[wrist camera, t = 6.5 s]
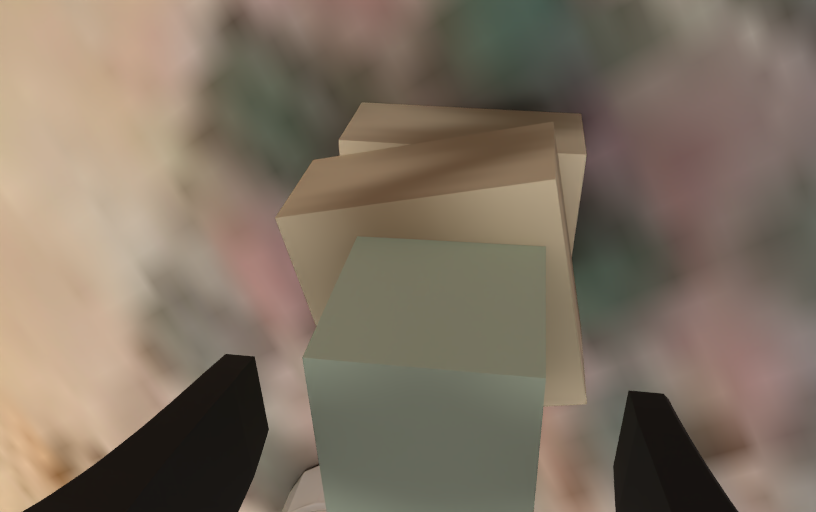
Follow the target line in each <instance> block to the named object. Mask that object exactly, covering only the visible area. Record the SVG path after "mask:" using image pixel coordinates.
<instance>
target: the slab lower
mask: <svg viewBox="0 0 816 512" xmlns="http://www.w3.org/2000/svg"><path fill="white" fill-rule="evenodd" d="M547 122H553V123H554V130H555V138H556V145H557V153H558V160H559V167H560V175H561V182H562V190H563V197H564V205H565V212H566V220H567V227H568V235H569V242H570V249H571V257H572V251H573V244H574V238H575V231H576V224H577V217H578V210H579V204H580V197H581V190H582V183H583V177H584V170H585V163H586V156H587V153H586V146H585V139H584V131H583V124H582V117H581V114H576V113H556V112H537V111H518V110H499V109H479V108H460V107H441V106H422V105H402V104H383V103H364V102H362V103H361V104H360V106H359V108H358V109H357V111H356V113H355V114H354V116H353V117H352V119H351V121H350V122H349V124H348V125H347V127H346V129H345V130H344V132H343V134H342V135H341V137H340V138H339V154H340V156H342V155H348V154H354V153H360V152H367V151H373V150H379V149H385V148H391V147H398V146H404V145H410V144H416V143H422V142H429V141H435V140H441V139H447V138H454V137H460V136H466V135H472V134H479V133H485V132H491V131H497V130H504V129H510V128H516V127H522V126H529V125H535V124H541V123H547Z"/></svg>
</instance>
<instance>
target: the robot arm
mask: <svg viewBox="0 0 816 512" xmlns="http://www.w3.org/2000/svg"><path fill="white" fill-rule="evenodd" d="M268 430H269V428H268V423H267V418H266V413H265V408H264V403H263V397H262V392H261V387H260V382H259V377H258V372H257V367H256V361H255V357H253V356H242V355H231V354H225V355H224V356H223V357H222V358H221V359H220V360H218V361H217V362H216V363H215V364H214V365H213V366H211V367H210V368H209V369H208V370H207V371H206V372H205V373H203V374H202V375H201V376H200V377H199V378H198V379H197V380H196V381H195V382H193V383H192V384H191V385H190V386H189V387H188V388H187V389H186V390H184V391H183V392H182V393H181V394H180V395H179V396H178V397H177V398H175V399H174V400H173V401H172V402H171V403H170V404H169V405H167V406H166V407H165V408H164V409H163V410H162V411H160V412H159V413H158V414H157V415H156V416H155V417H153V418H152V419H151V420H150V421H149V422H148V423H146V424H145V425H144V426H143V427H142V428H140V429H139V430H138V431H137V432H135V433H134V434H133V435H132V436H130V437H129V438H128V439H127V440H125V441H124V442H123V443H122V444H120V445H119V446H118V447H116V448H115V449H114V450H113V451H111V452H110V453H109V454H108V455H106V456H105V457H104V458H103V459H101V460H100V461H98V462H97V463H96V464H94V465H93V466H92V467H90V468H89V469H87V470H86V471H85V472H83V473H82V474H80V475H79V476H78V477H76V478H75V479H73V480H72V481H70V482H69V483H67V484H66V485H64V486H63V487H61V488H60V489H58V490H57V491H55V492H54V493H52V494H51V495H49V496H48V497H46V498H44V499H43V500H41V501H40V502H38V503H36V504H35V505H33V506H31V507H30V508H28V509H26V510H24V511H23V512H238V511H239V509H240V507H241V505H242V502H243V500H244V498H245V496H246V494H247V491H248V489H249V487H250V485H251V482H252V480H253V478H254V475H255V472H256V469H257V466H258V463H259V460H260V457H261V454H262V450H263V447H264V443H265V440H266V437H267V433H268ZM613 468H614V489H615V507H616V512H738V511H737V509H736V508H735V506H734V505H733V504H732V502H731V501H730V499H729V498H728V496H727V495H726V493H725V492H724V490H723V489H722V487H721V486H720V484H719V483H718V481H717V480H716V478H715V477H714V475H713V474H712V472H711V471H710V469H709V468H708V466H707V465H706V463H705V462H704V460H703V458H702V457H701V455H700V454H699V452H698V450H697V449H696V447H695V445H694V444H693V442H692V440H691V439H690V437H689V435H688V434H687V432H686V430H685V428H684V427H683V425H682V423H681V421H680V420H679V418H678V416H677V414H676V412H675V411H674V409H673V407H672V405H671V403H670V401H669V399H668V398H667V397H666V396H665V395H664V394H660V393H649V392H638V391H629V392H628V397H627V402H626V406H625V411H624V416H623V421H622V426H621V431H620V436H619V441H618V446H617V451H616V456H615V461H614V466H613Z"/></svg>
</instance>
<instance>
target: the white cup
mask: <svg viewBox="0 0 816 512" xmlns="http://www.w3.org/2000/svg"><path fill="white" fill-rule="evenodd" d="M282 512H327V511H326V504H325V498H324V492H323V485H322V479H321V473H320V466H317V467H314V468H312V469H309V470H307V471H305V472H304V473H303V474H302V476H301V477H300V479H299V480H298V481H297V483H296V484H295V486H294V487H293V488H292V490H291V491H290V493H289V496H288V498H287V500H286V503H285V505H284V507H283V510H282Z"/></svg>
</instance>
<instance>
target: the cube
mask: <svg viewBox="0 0 816 512" xmlns="http://www.w3.org/2000/svg"><path fill="white" fill-rule="evenodd" d="M302 358H303V365H304V371H305V377H306V384H307V390H308V396H309V403H310V409H311V415H312V422H313V428H314V434H315V441H316V447H317V454H318V460H319V466H320V473H321V479H322V485H323V492H324V498H325V504H326V511H327V512H534V501H535V491H536V480H537V469H538V459H539V448H540V437H541V427H542V416H543V405H544V394H545V384H546V246H528V245H510V244H491V243H473V242H455V241H436V240H418V239H399V238H379V237H360V236H357V238H356V240H355V242H354V244H353V247H352V249H351V251H350V253H349V256H348V258H347V260H346V262H345V264H344V267H343V269H342V271H341V273H340V275H339V278H338V280H337V282H336V284H335V287H334V289H333V291H332V293H331V295H330V298H329V300H328V302H327V304H326V307H325V309H324V311H323V313H322V315H321V318H320V320H319V322H318V324H317V326H316V329H315V331H314V333H313V335H312V338H311V340H310V342H309V344H308V346H307V349H306V351H305V353H304V355H303V357H302Z"/></svg>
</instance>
